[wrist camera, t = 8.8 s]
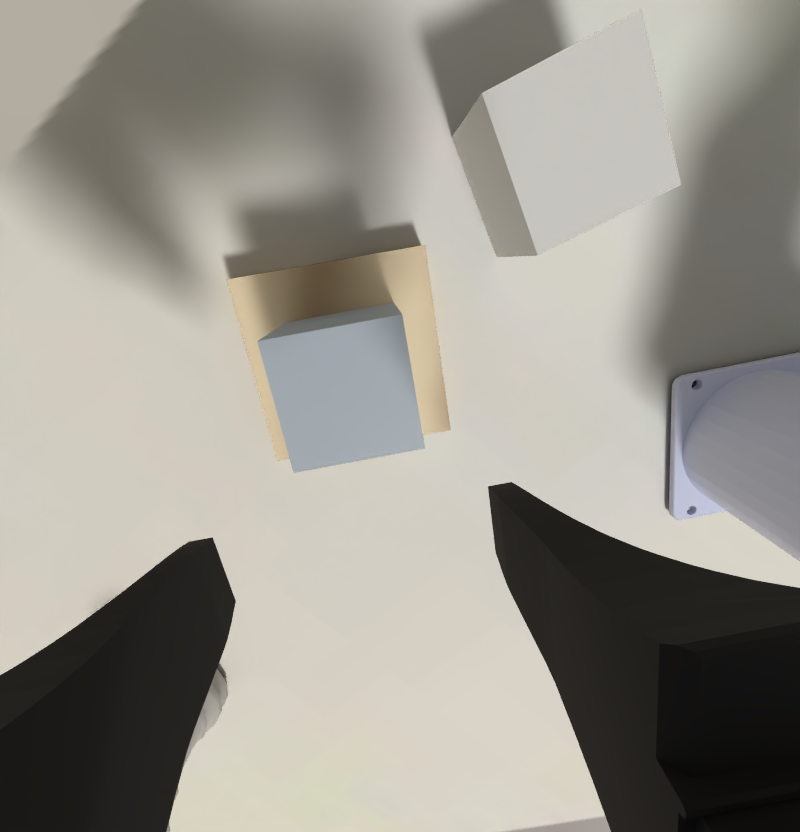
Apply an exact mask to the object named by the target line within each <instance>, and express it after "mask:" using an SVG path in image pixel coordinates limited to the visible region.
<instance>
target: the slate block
mask: <svg viewBox="0 0 800 832" xmlns="http://www.w3.org/2000/svg"><path fill="white" fill-rule="evenodd" d="M257 342H258V346H259V350H260V353H261V357H262V360H263V364H264V368H265V371H266V375H267V378H268V382H269V386H270V389H271V393H272V396H273V400H274V404H275V407H276V411H277V414H278V418H279V422H280V425H281V429H282V432H283V436H284V440H285V443H286V447H287V450H288V454H289V458H290V461H291V465H292V468H293V472H294V473H296V472H301V471H306V470H312V469H317V468H322V467H328V466H333V465H338V464H344V463H349V462H354V461H360V460H365V459H370V458H376V457H381V456H386V455H392V454H397V453H403V452H408V451H413V450H419V449H424V448H425V445H424V439H423V433H422V427H421V422H420V416H419V410H418V404H417V398H416V392H415V386H414V380H413V374H412V368H411V362H410V357H409V351H408V345H407V339H406V333H405V327H404V321H403V315H402V313H401V312H400V310H399V309H398V308H397V306H396V305H395V303H388V304H383V305H377V306H372V307H366V308H361V309H356V310H350V311H345V312H339V313H334V314H329V315H323V316H318V317H312V318H307V319H302V320H296V321H291V322H286V323H284V324H283V325H281V326H280V327H278V328H277V329H275V330H274V331H272V332H271V333H269V334H268V335H266V336H264V337H263V338H261V339H260V340H258V341H257Z"/></svg>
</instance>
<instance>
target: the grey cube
mask: <svg viewBox="0 0 800 832" xmlns="http://www.w3.org/2000/svg"><path fill="white" fill-rule="evenodd" d="M452 139H453V142H454V144H455V147H456V150H457V152H458V155H459V157H460V160H461V163H462V165H463V168H464V171H465V173H466V176H467V179H468V181H469V184H470V187H471V189H472V192H473V195H474V197H475V200H476V203H477V205H478V208H479V211H480V213H481V216H482V219H483V221H484V224H485V227H486V229H487V232H488V235H489V237H490V240H491V243H492V245H493V248H494V251H495V253H496V256H497V257H512V256H537V255H540V254H542V253H544V252H546V251H548V250H550V249H552V248H554V247H556V246H558V245H560V244H562V243H564V242H566V241H568V240H570V239H572V238H574V237H576V236H578V235H580V234H582V233H584V232H586V231H588V230H590V229H592V228H594V227H597V226H599V225H601V224H603V223H605V222H607V221H609V220H611V219H613V218H615V217H617V216H619V215H621V214H623V213H625V212H627V211H629V210H631V209H633V208H635V207H637V206H639V205H641V204H643V203H645V202H647V201H649V200H651V199H653V198H655V197H657V196H659V195H661V194H663V193H666V192H668V191H670V190H672V189H674V188H676V187H678V186H680V185H681V181H680V177H679V173H678V168H677V164H676V159H675V155H674V150H673V146H672V141H671V137H670V132H669V128H668V124H667V119H666V115H665V110H664V106H663V101H662V97H661V92H660V88H659V84H658V79H657V75H656V70H655V66H654V61H653V57H652V52H651V48H650V43H649V39H648V35H647V30H646V26H645V21H644V17H643V12H642V8H641V9H639V10H638V11H636V12H634V13H632V14H630V15H628V16H626V17H624V18H622V19H621V20H619V21H617V22H615V23H613V24H611V25H609V26H607V27H605V28H604V29H602V30H600V31H598V32H596V33H594V34H592V35H590V36H588V37H587V38H585V39H583V40H581V41H579V42H577V43H575V44H573V45H571V46H570V47H568V48H566V49H564V50H562V51H560V52H558V53H556V54H554V55H553V56H551V57H549V58H547V59H545V60H543V61H541V62H539V63H537V64H536V65H534V66H532V67H530V68H528V69H526V70H524V71H522V72H520V73H519V74H517V75H515V76H513V77H511V78H509V79H507V80H505V81H503V82H502V83H500V84H498V85H496V86H494V87H492V88H490V89H488V90H486V91H485V92H483V93H481V95H480V96H479V98H478V99H477V101H476V102H475V104H474V105H473V107H472V108H471V110H470V111H469V113H468V114H467V115H466V117H465V118H464V120H463V121H462V123H461V124H460V126H459V127H458V129H457V130H456V132H455V133H454V135H453V136H452Z"/></svg>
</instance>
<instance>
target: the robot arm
mask: <svg viewBox="0 0 800 832" xmlns="http://www.w3.org/2000/svg"><path fill="white" fill-rule="evenodd" d="M695 380H697V383H696V385H695V386H694V387H692V383H693V382H694V381H695ZM488 490H489V498H490V507H491V515H492V524H493V533H494V541H495V550H496V555H497V557H498V560H499V563H500V566H501V569H502V572H503V575H504V577H505V580H506V583H507V586H508V588H509V590H510V592H511V594H512V596H513V598H514V600H515V602H516V604H517V606H518V608H519V610H520V612H521V614H522V616H523V618H524V620H525V622H526V624H527V626H528V628H529V630H530V632H531V634H532V636H533V638H534V640H535V642H536V644H537V646H538V648H539V650H540V652H541V654H542V656H543V658H544V660H545V662H546V664H547V666H548V668H549V670H550V672H551V675H552V677H553V679H554V681H555V683H556V686H557V688H558V691H559V693H560V696H561V699H562V701H563V704H564V706H565V709H566V711H567V714H568V717H569V719H570V722H571V724H572V727H573V729H574V732H575V735H576V737H577V740H578V743H579V745H580V748H581V751H582V753H583V756H584V759H585V761H586V764H587V767H588V769H589V772H590V775H591V777H592V780H593V783H594V785H595V788H596V791H597V794H598V796H599V799H600V802H601V805H602V808H603V810H604V813H605V816H606V819H607V821H608V824H609V827H610V830H611V832H800V588H796V587H790V586H784V585H779V584H773V583H767V582H761V581H756V580H751V579H746V578H742V577H738V576H733V575H729V574H725V573H720V572H716V571H712V570H708V569H704V568H701V567H697V566H693V565H690V564H686V563H683V562H680V561H677V560H673V559H670V558H667V557H664V556H660V555H657V554H654V553H651V552H649V551H646V550H643V549H640V548H638V547H635V546H633V545H630V544H628V543H625V542H622V541H620V540H617V539H615V538H613V537H610V536H608V535H606V534H603V533H601V532H599V531H597V530H595V529H593V528H591V527H589V526H587V525H585V524H583V523H581V522H579V521H577V520H575V519H573V518H571V517H569V516H567V515H566V514H564V513H562V512H560V511H559V510H557V509H555V508H553V507H552V506H550V505H548V504H547V503H545V502H543V501H542V500H540V499H538V498H537V497H535V496H533V495H532V494H530V493H529V492H527V491H525V490H524V489H522V488H520V487H519V486H517V485H515V484H514V483H512V482H510V483H505V484H499V485H494V486H489V487H488ZM689 507H691V508H690V509H689V510H687V509H688V508H689ZM724 511H727V512H729V513H730V514H732V515H733V516H735V517H736V518H738V519H739V520H740V521H742V522H743V523H745V524H746V525H748V526H749V527H751V528H752V529H754V530H755V531H756V532H758V533H759V534H761V535H762V536H764V537H765V538H767V539H768V540H769V541H771V542H772V543H774V544H775V545H777V546H778V547H780V548H781V549H783V550H784V551H785V552H787V553H788V554H790V555H791V556H793V557H794V558H796V559H797V560H798V561H800V352H798V353H793V354H788V355H783V356H777V357H772V358H767V359H762V360H757V361H752V362H747V363H742V364H736V365H731V366H726V367H721V368H716V369H711V370H706V371H701V372H696V373H690V374H685V375H681V376H679V377H677V378H676V379H675V380H674V382H673V384H672V404H671V447H670V490H669V513H670V515H671V516H672V517H674V518H675V519H677V520H683V519H689V518H694V517H699V516H704V515H709V514H714V513H719V512H724ZM235 602H236V601H235V598H234V595H233V593H232V590H231V587H230V584H229V582H228V579H227V576H226V573H225V571H224V568H223V565H222V562H221V560H220V557H219V554H218V551H217V549H216V546H215V543H214V540H213V538H207V539H202V540H197V541H191V542H188V543H187V544H185V545H183V546H182V547H180V548H179V549H177V550H176V551H175V552H173V553H172V554H171V555H169V556H168V557H167V558H165V559H164V560H163V561H161V562H160V563H159V564H158V565H156V566H155V567H154V568H153V569H151V570H150V571H149V572H147V573H146V574H145V575H144V576H142V577H141V578H140V579H139V580H137V581H136V582H135V583H133V584H132V585H131V586H130V587H128V588H127V589H126V590H125V591H123V592H122V593H121V594H119V595H118V596H117V597H115V598H114V599H113V600H111V601H110V602H109V603H107V604H106V605H105V606H103V607H102V608H101V609H99V610H98V611H97V612H95V613H94V614H93V615H91V616H90V617H89V618H87V619H86V620H85V621H83V622H82V623H80V624H79V625H78V626H76V627H75V628H73V629H72V630H71V631H69V632H68V633H66V634H65V635H63V636H62V637H60V638H59V639H58V640H56V641H55V642H53V643H52V644H50V645H48V646H47V647H45V648H44V649H42V650H41V651H39V652H38V653H36V654H35V655H33V656H31V657H30V658H28V659H27V660H25V661H24V662H22V663H20V664H19V665H17V666H16V667H14V668H12V669H10V670H9V671H7V672H5V673H4V674H2V675H0V832H166V831H167V827H168V823H169V819H170V815H171V811H172V806H173V802H174V799H175V795H176V791H177V787H178V783H179V780H180V776H181V772H182V768H183V765H184V761H185V757H186V754H187V750H188V747H189V744H190V741H191V738H192V735H193V732H194V729H195V727H196V724H197V721H198V718H199V716H200V713H201V710H202V708H203V705H204V702H205V700H206V697H207V694H208V691H209V689H210V686H211V683H212V681H213V678H214V675H215V673H216V670H217V667H218V664H219V662H220V659H221V656H222V653H223V650H224V648H225V645H226V642H227V639H228V634H229V630H230V626H231V622H232V617H233V612H234V607H235Z"/></svg>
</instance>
